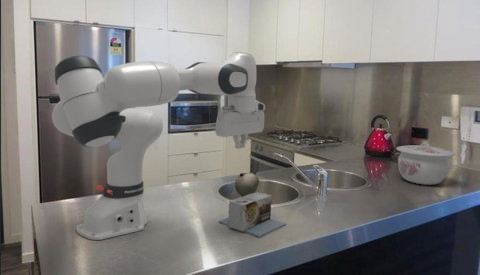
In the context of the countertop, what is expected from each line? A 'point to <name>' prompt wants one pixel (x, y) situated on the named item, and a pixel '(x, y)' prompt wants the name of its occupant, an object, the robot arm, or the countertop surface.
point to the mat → (259, 227)
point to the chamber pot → (424, 163)
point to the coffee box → (249, 210)
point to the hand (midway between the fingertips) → (240, 148)
